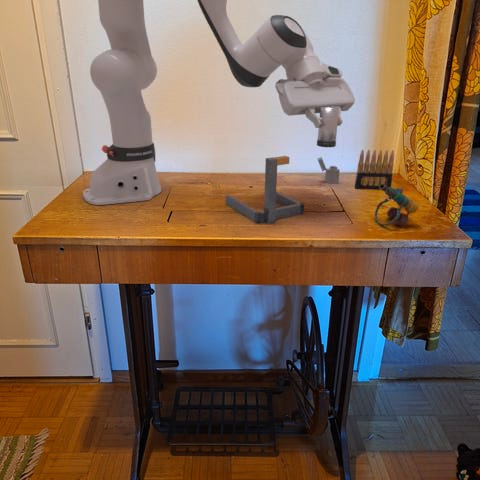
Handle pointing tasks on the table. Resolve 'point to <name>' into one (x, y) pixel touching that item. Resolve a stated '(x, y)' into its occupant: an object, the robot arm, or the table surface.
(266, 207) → the grey metal bar frame
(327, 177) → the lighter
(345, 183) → the table surface
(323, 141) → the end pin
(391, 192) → the binoculars
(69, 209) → the table surface
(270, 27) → the robot arm
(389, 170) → the ammunition clip
